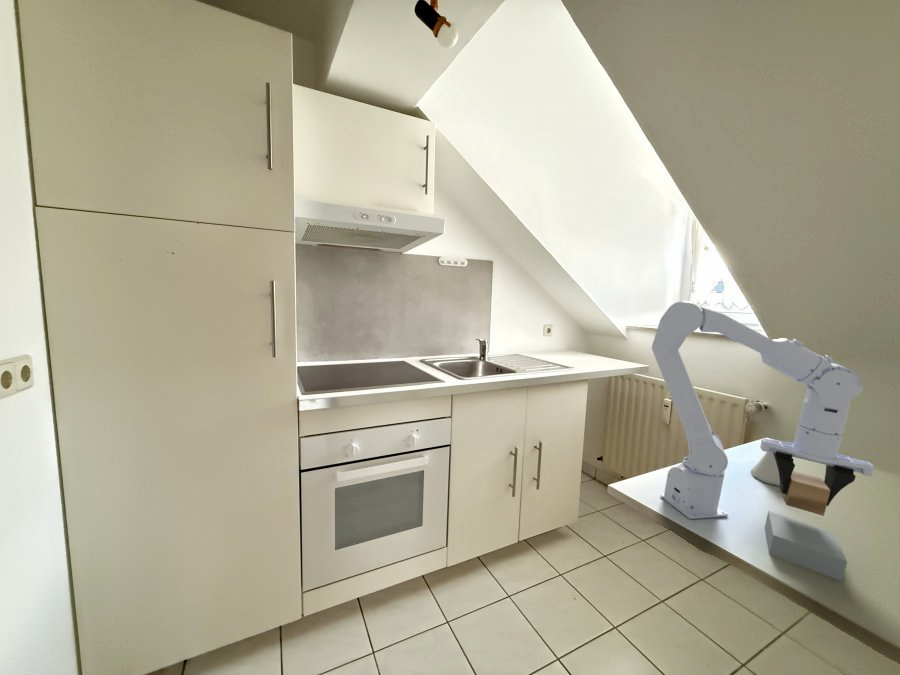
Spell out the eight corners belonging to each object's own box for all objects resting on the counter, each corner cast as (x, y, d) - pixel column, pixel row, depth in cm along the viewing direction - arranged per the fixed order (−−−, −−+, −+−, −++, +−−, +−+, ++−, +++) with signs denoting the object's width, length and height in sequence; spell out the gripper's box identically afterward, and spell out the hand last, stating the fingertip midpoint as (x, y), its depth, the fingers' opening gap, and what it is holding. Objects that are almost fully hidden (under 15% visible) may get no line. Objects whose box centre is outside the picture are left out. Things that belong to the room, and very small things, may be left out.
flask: (796, 489, 86) (805, 451, 84) (761, 484, 87) (770, 446, 86) (776, 474, 93) (784, 438, 91) (744, 469, 94) (752, 434, 93)
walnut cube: (823, 516, 64) (830, 490, 63) (786, 505, 67) (792, 480, 66) (815, 502, 68) (821, 478, 67) (780, 492, 71) (786, 469, 70)
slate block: (841, 583, 58) (847, 561, 58) (768, 555, 64) (773, 534, 63) (828, 552, 65) (834, 532, 65) (764, 529, 71) (768, 510, 70)
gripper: (868, 432, 64) (850, 501, 67) (763, 412, 72) (750, 474, 74) (887, 446, 59) (866, 521, 61) (770, 422, 66) (756, 490, 68)
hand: (803, 497), depth 67 cm, fingers closed on walnut cube, 5 cm apart
